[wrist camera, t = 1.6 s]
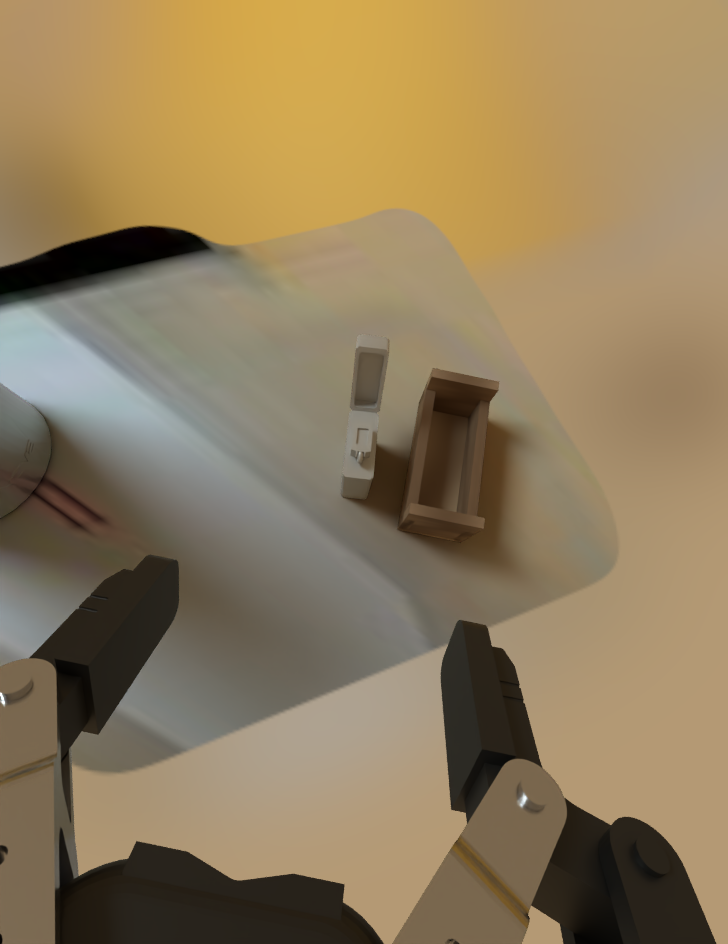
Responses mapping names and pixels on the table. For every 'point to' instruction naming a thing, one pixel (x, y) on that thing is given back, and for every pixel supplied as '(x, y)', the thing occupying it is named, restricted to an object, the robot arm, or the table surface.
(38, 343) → the table surface
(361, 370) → the lighter
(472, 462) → the open wooden box
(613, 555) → the table surface
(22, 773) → the robot arm
